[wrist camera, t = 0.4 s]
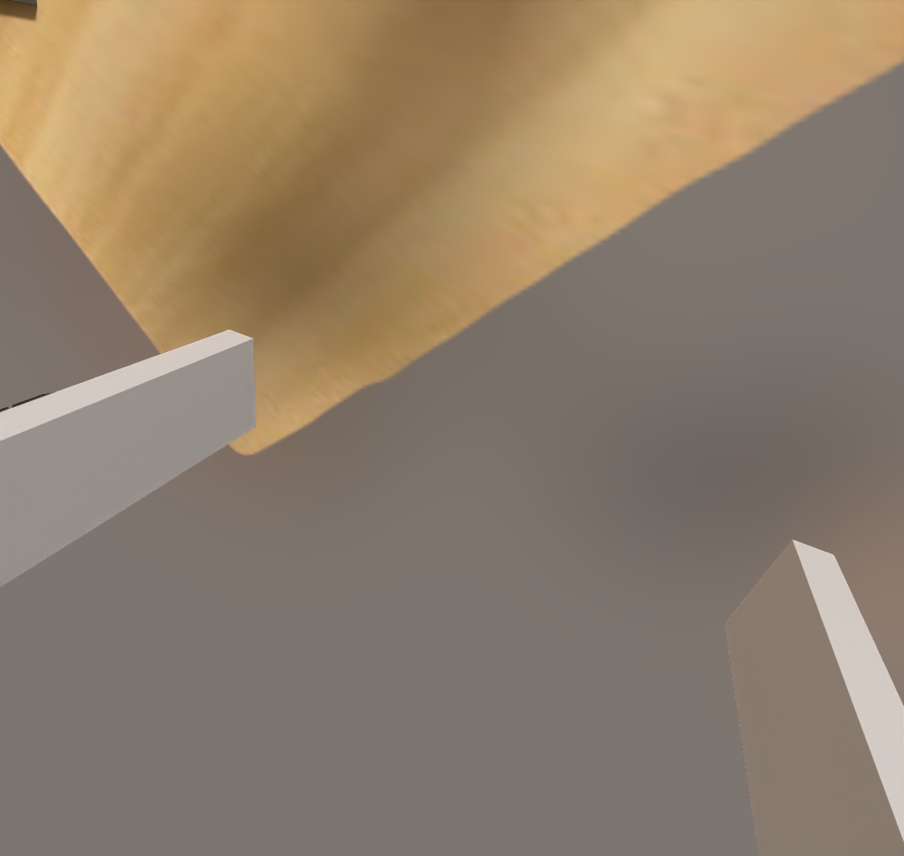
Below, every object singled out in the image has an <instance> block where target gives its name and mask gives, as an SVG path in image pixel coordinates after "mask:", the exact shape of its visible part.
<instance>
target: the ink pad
mask: <svg viewBox="0 0 904 856" xmlns="http://www.w3.org/2000/svg"><path fill="white" fill-rule="evenodd" d="M9 1H15V2H21V3H26V4H32V5H37V4H36V0H9Z"/></svg>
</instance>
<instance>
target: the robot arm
mask: <svg viewBox="0 0 904 856" xmlns="http://www.w3.org/2000/svg"><path fill="white" fill-rule="evenodd" d="M255 427H256V419H255V383H254V346H253V338H251V337H248V336H245V335H243V334H240V333H237V332H235V331H232V330H226V331H224V332H221V333H218V334H215V335H213V336H210V337H207V338H204V339H201V340H199V341H196V342H193V343H190V344H188V345H185V346H182V347H179V348H177V349H174V350H171V351H168V352H165V353H163V354H160V355H157V356H154V357H152V358H149V359H146V360H143V361H141V362H138V363H135V364H132V365H130V366H127V367H124V368H121V369H118V370H116V371H113V372H110V373H107V374H105V375H102V376H99V377H96V378H94V379H91V380H88V381H85V382H83V383H80V384H77V385H74V386H71V387H69V388H66V389H63V390H61V391H58V392H53V393H48V394H42V395H39V396H37V397H34V398H31V399H28V400H25V401H23V402H20V403H17V404H14V405H13V407H12V408H7V407H6V408H3V409H0V587H1V586H3V585H4V584H5V583H7V582H9V581H11V580H12V579H13V578H15V577H17V576H18V575H20V574H22V573H23V572H25V571H26V570H28V569H30V568H31V567H33V566H34V565H36V564H38V563H39V562H41V561H42V560H44V559H46V558H47V557H49V556H50V555H52V554H54V553H55V552H57V551H58V550H60V549H62V548H63V547H65V546H66V545H68V544H69V543H71V542H73V541H74V540H76V539H77V538H79V537H81V536H82V535H84V534H85V533H87V532H89V531H90V530H92V529H93V528H95V527H97V526H98V525H100V524H101V523H103V522H105V521H106V520H108V519H109V518H111V517H113V516H114V515H116V514H117V513H119V512H121V511H122V510H124V509H125V508H127V507H129V506H130V505H132V504H133V503H135V502H137V501H138V500H139V499H141V498H143V497H144V496H146V495H148V494H149V493H151V492H152V491H154V490H155V489H157V488H159V487H160V486H162V485H164V484H165V483H167V482H168V481H170V480H172V479H173V478H175V477H176V476H178V475H180V474H181V473H183V472H184V471H186V470H188V469H189V468H191V467H192V466H194V465H196V464H197V463H199V462H200V461H202V460H203V459H205V458H206V457H208V456H210V455H211V454H213V453H215V452H216V451H218V450H219V449H221V448H222V447H224V446H226V445H227V444H229V443H231V442H232V441H234V440H235V439H237V438H239V437H240V436H242V435H243V434H245V433H247V432H248V431H250V430H251V429H253V428H255ZM725 630H726V636H727V643H728V649H729V657H730V664H731V670H732V677H733V684H734V690H735V697H736V703H737V711H738V717H739V724H740V731H741V737H742V745H743V751H744V758H745V765H746V772H747V778H748V785H749V792H750V798H751V805H752V811H753V819H754V825H755V832H756V839H757V846H758V852H759V856H904V706H903V704H902V702H901V700H900V697H899V695H898V693H897V691H896V689H895V687H894V684H893V682H892V680H891V678H890V676H889V674H888V671H887V669H886V667H885V665H884V663H883V661H882V658H881V656H880V654H879V652H878V650H877V648H876V646H875V643H874V641H873V639H872V637H871V635H870V632H869V630H868V628H867V626H866V624H865V622H864V620H863V617H862V615H861V613H860V611H859V609H858V606H857V604H856V602H855V600H854V598H853V596H852V593H851V591H850V589H849V587H848V585H847V583H846V581H845V578H844V576H843V574H842V572H841V570H840V568H839V565H838V563H837V561H836V559H835V557H834V555H832V554H830V553H827V552H824V551H821V550H819V549H816V548H814V547H811V546H808V545H805V544H803V543H800V542H797V541H795V540H792V541H791V542H790V543H789V545H788V546H787V547H786V549H785V550H784V551H783V552H782V553H781V555H780V556H779V557H778V558H777V559H776V561H775V562H774V563H773V565H772V566H771V567H770V568H769V569H768V571H767V572H766V573H765V574H764V576H763V577H762V578H761V579H760V581H759V582H758V583H757V584H756V586H755V587H754V588H753V589H752V591H751V592H750V593H749V594H748V595H747V597H746V598H745V599H744V600H743V602H742V603H741V604H740V605H739V606H738V608H737V609H736V610H735V611H734V613H733V614H732V615H731V616H730V618H729V619H728V620H727V621H726V623H725Z"/></svg>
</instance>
